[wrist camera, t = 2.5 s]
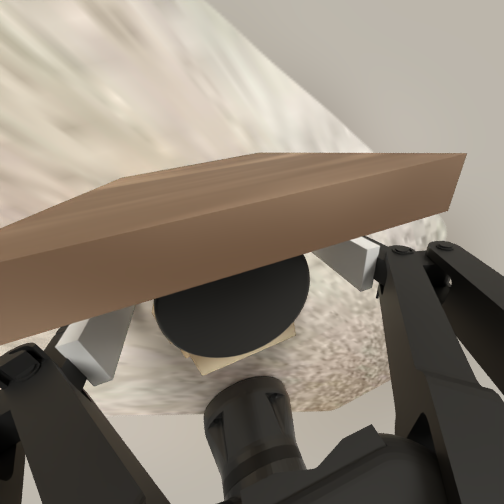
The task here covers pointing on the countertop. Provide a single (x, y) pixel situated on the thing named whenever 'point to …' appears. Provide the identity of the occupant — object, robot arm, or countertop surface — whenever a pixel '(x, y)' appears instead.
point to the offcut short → (213, 364)
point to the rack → (204, 228)
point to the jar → (235, 310)
